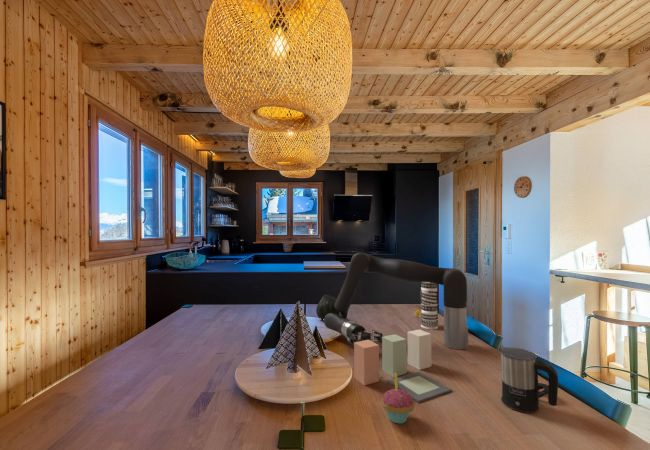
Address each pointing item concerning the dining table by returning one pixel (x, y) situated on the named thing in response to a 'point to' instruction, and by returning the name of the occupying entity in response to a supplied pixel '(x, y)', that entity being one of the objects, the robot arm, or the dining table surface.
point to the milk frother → (525, 380)
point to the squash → (326, 306)
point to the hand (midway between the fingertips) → (375, 343)
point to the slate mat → (420, 386)
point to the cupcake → (397, 403)
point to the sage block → (394, 355)
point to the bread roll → (418, 313)
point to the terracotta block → (366, 362)
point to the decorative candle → (429, 305)
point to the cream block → (419, 349)
